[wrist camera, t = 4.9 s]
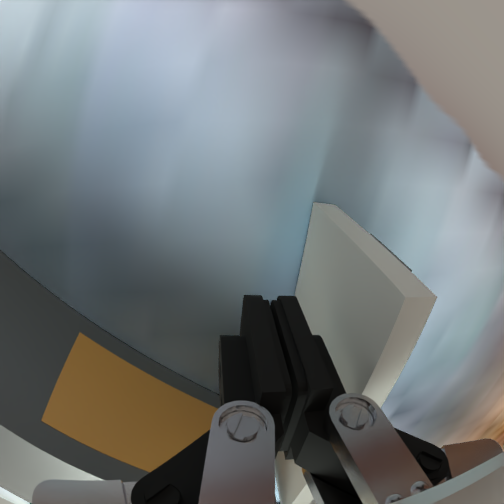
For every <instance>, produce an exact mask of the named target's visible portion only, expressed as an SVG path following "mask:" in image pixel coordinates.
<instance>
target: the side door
mask: <svg viewBox="0 0 504 504" xmlns="http://www.w3.org/2000/svg"><path fill="white" fill-rule="evenodd" d="M294 296H296V297H297V300H298V302H299V304H300V307H301V309H302V311H303V314H304V316H305V319H306V321H307V323H308V326H309V328H310V331H311V333H312V335H320V336H321V337H322V339H323V341H324V343H325V346H326V348H327V350H328V352H329V355H330V357H331V359H332V361H333V364H334V366H335V368H336V370H337V373H338V375H339V377H340V380H341V382H342V384H343V387H344V389H345V391H346V394H347V393H357V394H362V395H365V396H367V397H369V398H370V399H372V400H374V401H375V403H376V404H377V405H378V406H379V407H380V408H381V406H382V405H383V403H384V401H385V400H386V398H387V396H388V395H389V393H390V391H391V389H392V388H393V386H394V384H395V383H396V381H397V379H398V377H399V375H400V374H401V372H402V370H403V368H404V366H405V364H406V362H407V360H408V359H409V357H410V355H411V353H412V351H413V349H414V347H415V345H416V343H417V341H418V339H419V337H420V334H421V332H422V330H423V328H424V326H425V324H426V322H427V319H428V317H429V315H430V313H431V310H432V308H433V306H434V303H435V301H436V298H437V297H436V296H435V295H434V294H433V293H432V292H431V291H430V290H429V289H428V288H427V287H426V286H425V285H424V284H423V283H422V282H421V281H420V280H419V279H418V278H417V277H416V276H415V275H414V274H413V273H412V270H411V269H410V268H409V267H408V266H406V265H405V264H404V263H403V262H402V261H401V260H400V259H399V258H398V257H397V256H396V255H394V254H393V253H392V252H391V251H390V250H389V249H388V248H387V247H386V246H384V245H383V244H382V243H381V242H380V241H379V240H378V239H377V238H375V237H374V236H373V235H372V234H369V233H368V232H367V231H366V230H364V229H363V228H362V227H361V226H360V225H359V224H357V223H356V222H355V221H354V220H353V219H352V218H350V217H349V216H348V215H347V214H346V213H345V212H343V211H342V210H341V209H340V208H339V207H337V206H336V205H333V204H325V203H317V202H313V207H312V212H311V218H310V223H309V228H308V233H307V238H306V243H305V248H304V253H303V258H302V262H301V267H300V272H299V277H298V281H297V286H296V290H295V295H294ZM275 476H276V482H277V487H278V492H279V497H280V503H281V504H310V502H311V501H312V500H313V499H314V498H313V496H312V494H311V492H310V489H309V487H308V485H307V483H306V480H305V478H304V476H303V473H302V467H300V466H298V465H296V464H295V463H294V459H290V460H285V456H284V451H278V453H277V456H276V459H275Z"/></svg>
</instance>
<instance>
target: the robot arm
mask: <svg viewBox="0 0 504 504" xmlns="http://www.w3.org/2000/svg"><path fill="white" fill-rule="evenodd" d="M219 391H220V407H219V409H218V410H217V411H216V412H215V413H214V416H213V418H212V422H211V428H210V430H208V431H207V432H206V433H204V434H203V435H202V436H201V437H199V438H198V439H197V440H195V441H194V442H193V443H191V444H190V445H188V446H187V447H186V448H184V449H183V450H182V451H180V452H179V453H177V454H176V455H175V456H173V457H172V458H170V459H169V460H168V461H166V462H165V463H163V464H162V465H160V466H159V467H157V468H156V469H154V470H153V471H151V472H150V473H148V474H147V475H145V476H144V477H142V478H141V479H140V480H139V481H137V482H122V480H59V479H50V480H44V481H42V482H41V483H39V484H38V485H37V486H36V487H35V489H34V491H33V496H32V504H275V459H276V456H277V453H278V451H284V456H285V460H290V459H294V463H295V464H296V465H298V466H300V467H302V473H303V476H304V478H305V480H306V483H307V485H308V487H309V489H310V492H311V494H312V496H313V498H314V499H313V500H312V501H311V502H310V504H504V452H503V450H502V448H501V446H500V445H499V444H498V443H497V442H496V441H494V440H492V439H481V440H475V441H469V442H463V443H457V444H449V445H443V447H442V448H439V447H437V446H435V445H433V444H431V443H428V442H426V441H423V440H421V439H419V438H416V437H414V436H412V435H409V434H407V433H405V432H403V431H400V430H398V429H396V428H394V427H393V426H392V424H391V423H390V422H389V420H388V419H387V417H386V416H385V414H384V413H383V411H382V410H381V409H380V407H379V406H378V405H377V404H376V403H375V401H374V400H372V399H370V398H369V397H367V396H365V395H362V394H357V393H347V394H346V391H345V389H344V387H343V384H342V382H341V380H340V377H339V375H338V373H337V370H336V368H335V366H334V364H333V361H332V359H331V357H330V355H329V352H328V350H327V348H326V346H325V343H324V341H323V339H322V337H321V336H320V335H312V333H311V331H310V328H309V326H308V323H307V321H306V319H305V316H304V314H303V311H302V309H301V307H300V304H299V302H298V300H297V297H296V296H278V298H277V300H272V301H271V305H270V304H269V301H268V300H263V298H262V296H261V295H244V298H243V307H242V317H241V327H240V336H229V335H220V341H219Z"/></svg>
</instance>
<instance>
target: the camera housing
mask: <svg viewBox="0 0 504 504" xmlns="http://www.w3.org/2000/svg"><path fill="white" fill-rule="evenodd" d="M219 407H220V395H218V394H216V393H214V392H212V391H210V390H208V389H206V388H204V387H202V386H200V385H198V384H196V383H194V382H192V381H190V380H188V379H186V378H184V377H182V376H180V375H179V374H177V373H175V372H173V371H171V370H169V369H167V368H166V367H164V366H162V365H160V364H159V363H157V362H155V361H153V360H152V359H150V358H148V357H146V356H145V355H143V354H141V353H140V352H138V351H136V350H135V349H133V348H131V347H130V346H128V345H126V344H125V343H123V342H122V341H120V340H118V339H117V338H115V337H114V336H112V335H111V334H109V333H107V332H106V331H104V330H103V329H101V328H100V327H98V326H97V325H95V324H94V323H92V322H91V321H90V320H88V319H87V318H85V317H84V316H82V315H81V314H79V313H78V312H77V311H75V310H74V309H72V308H71V307H70V306H68V305H67V304H66V303H64V302H63V301H61V300H60V299H59V298H57V297H56V296H55V295H53V294H52V293H51V292H50V291H48V290H47V289H46V288H44V287H43V286H42V285H41V284H39V283H38V282H37V281H36V280H34V279H33V278H32V277H31V276H29V275H28V274H27V273H26V272H25V271H23V270H22V269H21V268H20V267H19V266H17V265H16V264H15V263H14V262H13V261H12V260H10V259H9V258H8V257H7V256H6V255H5V254H4V253H2V252H1V251H0V486H1V487H2V488H4V489H6V490H7V491H9V492H11V493H13V494H15V495H16V496H18V497H20V498H22V499H24V500H26V501H28V502H30V503H32V496H33V491H34V489H35V487H36V486H37V485H38V484H39V483H41V482H42V481H44V480H50V479H59V480H122V482H137V481H139V480H140V479H141V478H142V477H144V476H145V475H147V474H148V473H150V472H151V471H153V470H154V469H156V468H157V467H159V466H160V465H162V464H163V463H165V462H166V461H168V460H169V459H170V458H172V457H173V456H175V455H176V454H177V453H179V452H180V451H182V450H183V449H184V448H186V447H187V446H188V445H190V444H191V443H193V442H194V441H195V440H197V439H198V438H199V437H201V436H202V435H203V434H204V433H206V432H207V431H208V430H210V428H211V422H212V418H213V416H214V413H215V412H216V411H217V410H218V409H219ZM275 504H277V503H276V497H275Z"/></svg>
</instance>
